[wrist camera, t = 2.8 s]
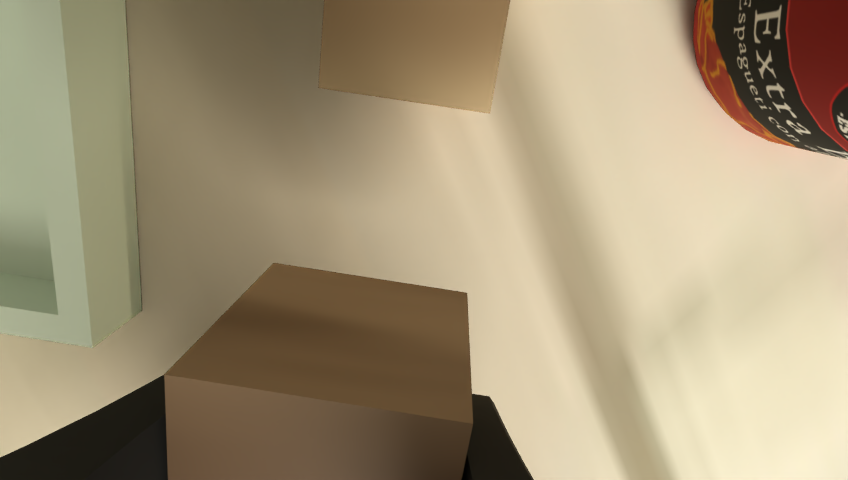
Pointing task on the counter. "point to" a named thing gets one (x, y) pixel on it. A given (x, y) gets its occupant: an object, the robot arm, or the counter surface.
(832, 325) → the counter surface
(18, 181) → the tray
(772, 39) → the canned food
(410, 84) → the block
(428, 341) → the block
